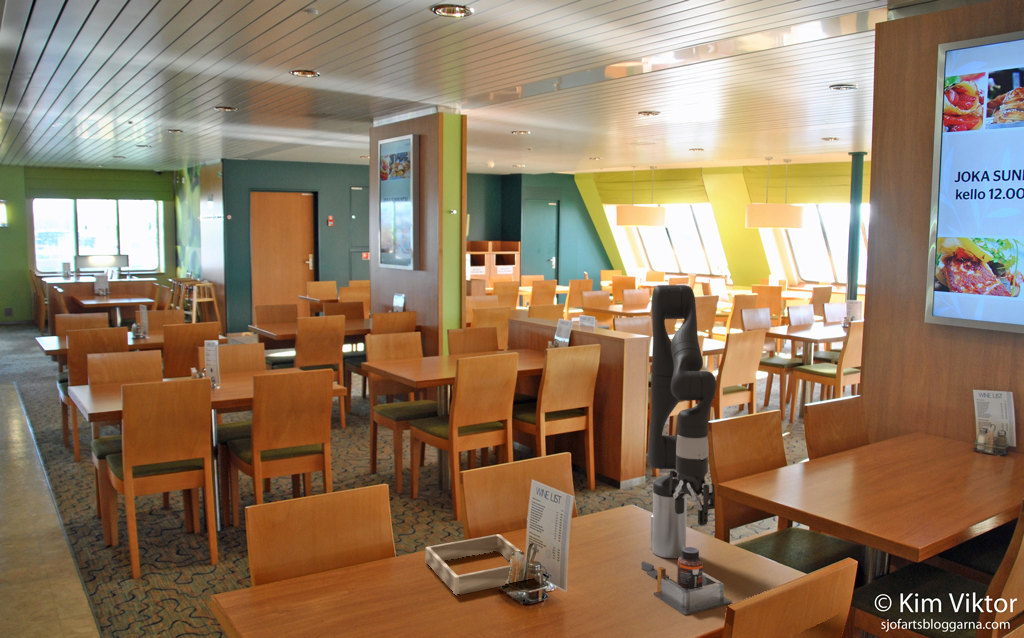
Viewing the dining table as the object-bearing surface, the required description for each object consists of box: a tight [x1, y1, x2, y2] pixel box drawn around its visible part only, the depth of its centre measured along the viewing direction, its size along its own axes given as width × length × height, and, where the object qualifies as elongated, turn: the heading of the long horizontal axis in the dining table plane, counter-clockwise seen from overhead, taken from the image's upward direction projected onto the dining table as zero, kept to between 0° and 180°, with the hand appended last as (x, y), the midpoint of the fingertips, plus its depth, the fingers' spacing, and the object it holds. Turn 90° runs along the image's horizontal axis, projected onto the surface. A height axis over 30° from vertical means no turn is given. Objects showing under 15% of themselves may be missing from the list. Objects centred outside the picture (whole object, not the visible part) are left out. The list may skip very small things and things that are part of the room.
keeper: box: [653, 566, 733, 616], centre depth 184 cm, size 12×14×6 cm
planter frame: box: [424, 533, 521, 596], centre depth 200 cm, size 22×22×4 cm
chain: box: [641, 560, 677, 584], centre depth 196 cm, size 14×2×2 cm, turn 26°
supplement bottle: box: [676, 546, 704, 590], centre depth 184 cm, size 6×6×11 cm
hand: (690, 518), depth 183 cm, fingers open, 8 cm apart
